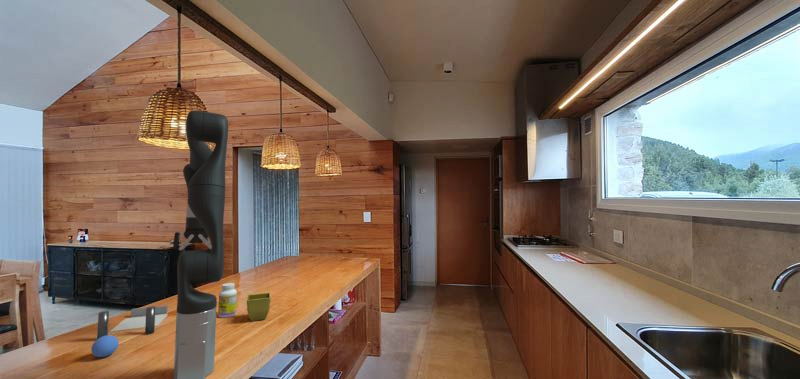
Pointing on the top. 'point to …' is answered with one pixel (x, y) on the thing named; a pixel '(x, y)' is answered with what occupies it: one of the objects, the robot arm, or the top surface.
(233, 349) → the top surface
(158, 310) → the stopper wall
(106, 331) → the left post
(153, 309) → the right post
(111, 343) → the ball
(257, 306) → the flower pot
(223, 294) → the supplement bottle
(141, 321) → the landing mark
